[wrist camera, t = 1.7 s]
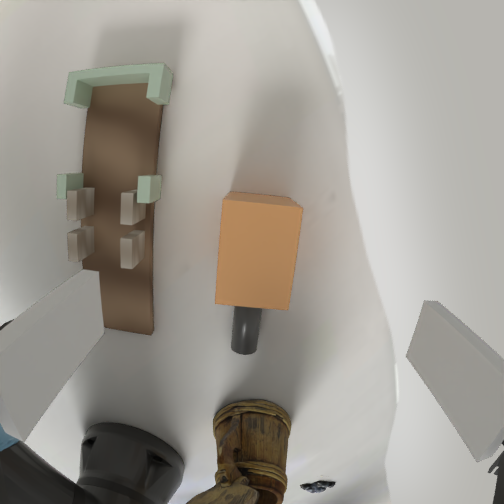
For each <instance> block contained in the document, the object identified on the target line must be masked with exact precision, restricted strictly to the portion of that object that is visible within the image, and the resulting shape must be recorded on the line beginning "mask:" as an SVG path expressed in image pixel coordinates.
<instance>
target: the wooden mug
mask: <svg viewBox="0 0 504 504" xmlns="http://www.w3.org/2000/svg"><path fill="white" fill-rule="evenodd" d="M290 431H291V421H290V417H289V416H288V414H287V413H286V411H284V410H283V409H282V408H281V407H279V406H278V405H276V404H274V403H272V402H268V401H265V400H247V401H240V402H237V403H233V404H230V405H228V406H226V407H224V408H223V409H221V410H220V411H219V412H218V413H217V414H216V416H215V418H214V419H213V433H214V437H215V439H216V444H217V464H218V471H217V472H216V473H215V481H216V485H215V486H214V487H212V488H211V489H209V490H207V491H204V492H202V493H200V494H198V495H196V496H195V497H193V498H192V499H191V500H190V501H188V502H187V503H186V504H282V502H283V498H284V493H285V492H286V489H287V476H286V474H285V472H286V460H287V448H288V438H289V435H290Z"/></svg>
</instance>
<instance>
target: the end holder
mask: <svg viewBox="0 0 504 504" xmlns="http://www.w3.org/2000/svg"><path fill="white" fill-rule="evenodd" d="M172 79H173V73H172V72H171V71H170V69H169V68H168V67H167V66H166V65H165V64H164V63H153V64H136V65H123V66H112V67H103V68H95V69H88V70H81V71H75V72H69V76H68V81H67V87H66V92H65V99H64V104H67V105H71V106H74V107H78V108H90V102H91V96H92V89H93V87H95V86H106V85H118V84H133V83H148V89H147V96H146V98H148V99H150V100H151V101H153V102H154V103H156V104H157V105H169V100H170V93H171V86H172ZM83 177H84V173H69V174H59V175H57V199H67V191H68V190H74V189H79V188H83ZM161 179H162V175H143V176H138V189H137V203H152V202H154V201H157V200H159V199H160V194H161Z"/></svg>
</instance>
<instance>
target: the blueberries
mask: <svg viewBox="0 0 504 504" xmlns="http://www.w3.org/2000/svg"><path fill="white" fill-rule="evenodd" d="M321 477H322V476H321ZM328 477H329V476H328ZM334 485H335V482H327V481H317V482H314V483H312V484H302V485H300V486H301V488H303V489H304V490H306V491H308V492H311V493H315V492H316V493H320V492H323V491H325V490H326V488H327V487H329V488H331V487H333V486H334Z"/></svg>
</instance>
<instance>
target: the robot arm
mask: <svg viewBox="0 0 504 504" xmlns="http://www.w3.org/2000/svg"><path fill="white" fill-rule="evenodd" d="M104 333H105V332H104V324H103V315H102V305H101V294H100V281H99V272H98V271H91V270H84V269H82V270H81V271H80V272H78V273H77V274H75V275H74V276H72V277H71V278H70V279H68V280H67V281H65V282H64V283H62V284H61V285H60V286H58V287H57V288H56V289H54V290H53V291H51V292H50V293H49V294H47V295H46V296H45V297H43V298H42V299H40V300H39V301H38V302H36V303H35V304H34V305H32V306H31V307H30V308H29V309H27V310H26V311H25V312H23V313H22V314H21V315H19V316H18V317H17V318H16V319H13V320H11V321H9V322H6V323H4V324H3V325H2V326H1V327H0V504H167V503H168V502H169V501H170V499H171V498H172V496H173V495H174V493H175V492H176V490H177V489H178V488H179V486H180V484H181V482H182V479H183V473H184V464H183V461H182V459H181V458H180V456H179V455H178V454H177V452H176V451H175V450H174V449H172V448H171V447H170V446H169V445H168V444H166V443H165V442H163V441H162V440H160V439H158V438H157V437H155V436H153V435H151V434H149V433H147V432H145V431H142V430H140V429H137V428H134V427H131V426H127V425H123V424H117V423H100V424H96V425H94V426H92V427H91V428H89V430H88V431H87V433H86V435H85V437H84V439H83V441H82V444H81V456H80V476H79V479H78V481H77V483H76V484H75V483H74V482H73V481H71V480H70V479H68V478H67V477H66V476H64V475H63V474H62V473H60V472H59V471H58V470H56V469H55V468H54V467H52V466H51V465H50V464H49V463H47V462H46V461H45V460H44V459H42V458H41V457H40V456H39V455H38V454H36V453H35V452H34V451H33V450H32V449H31V448H29V447H28V446H27V445H26V444H25V443H24V442H25V440H26V439H27V437H28V436H29V434H30V433H31V431H32V430H33V428H34V427H35V426H36V424H37V423H38V421H39V420H40V418H41V417H42V416H43V414H44V413H45V411H46V410H47V408H48V407H49V406H50V404H51V403H52V401H53V400H54V399H55V397H56V396H57V395H58V393H59V392H60V390H61V389H62V388H63V386H64V385H65V384H66V382H67V381H68V380H69V378H70V377H71V376H72V374H73V373H74V372H75V370H76V369H77V368H78V366H79V365H80V364H81V362H82V361H83V360H84V358H85V357H86V356H87V355H88V353H89V352H90V351H91V349H92V348H93V347H94V346H95V344H96V343H97V342H98V341H99V339H100V338H101V337H102V335H103V334H104ZM406 357H407V359H408V360H409V362H410V363H411V364H412V366H413V367H414V369H415V370H416V371H417V373H418V374H419V376H420V377H421V379H422V380H423V381H424V383H425V384H426V386H427V387H428V389H429V390H430V391H431V393H432V394H433V396H434V397H435V399H436V400H437V402H438V403H439V405H440V406H441V408H442V409H443V411H444V412H445V414H446V415H447V417H448V418H449V420H450V421H451V423H452V424H453V426H454V427H455V429H456V430H457V432H458V433H459V435H460V436H461V438H462V440H463V441H464V443H465V444H466V446H467V448H468V449H469V451H470V452H471V454H472V456H473V457H474V459H475V460H476V462H479V461H482V460H484V459H487V458H489V457H491V456H493V454H494V453H495V452H496V450H497V449H498V448H499V446H500V445H501V444H503V445H504V359H503V358H502V357H501V356H499V354H498V353H497V352H495V351H494V350H493V349H492V348H491V347H490V346H489V345H487V343H485V342H484V341H483V340H482V339H481V338H480V337H479V336H478V335H477V334H475V333H474V332H473V331H472V330H471V329H470V328H469V327H468V326H466V325H465V324H464V323H463V322H462V321H461V320H460V319H458V318H457V317H456V316H455V315H454V314H453V313H451V312H450V311H449V310H448V309H447V308H445V307H444V306H443V305H442V304H441V303H439V302H438V301H424V303H423V306H422V309H421V313H420V316H419V319H418V322H417V325H416V328H415V331H414V334H413V337H412V340H411V343H410V346H409V349H408V351H407V354H406ZM496 466H499V468H498V469H497V470H496V471H495V473H494V474H495V475H498V476H497V483H496V489H495V495H494V500H493V504H504V451H503V452H502V453H501V455H500V456H499V457H498V459H497V460H496V461H495V462H494V463H493V465H492V466H491V467H490V469H489V471H488V473H491V472H492V471H493V469H494V468H495V467H496Z"/></svg>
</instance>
